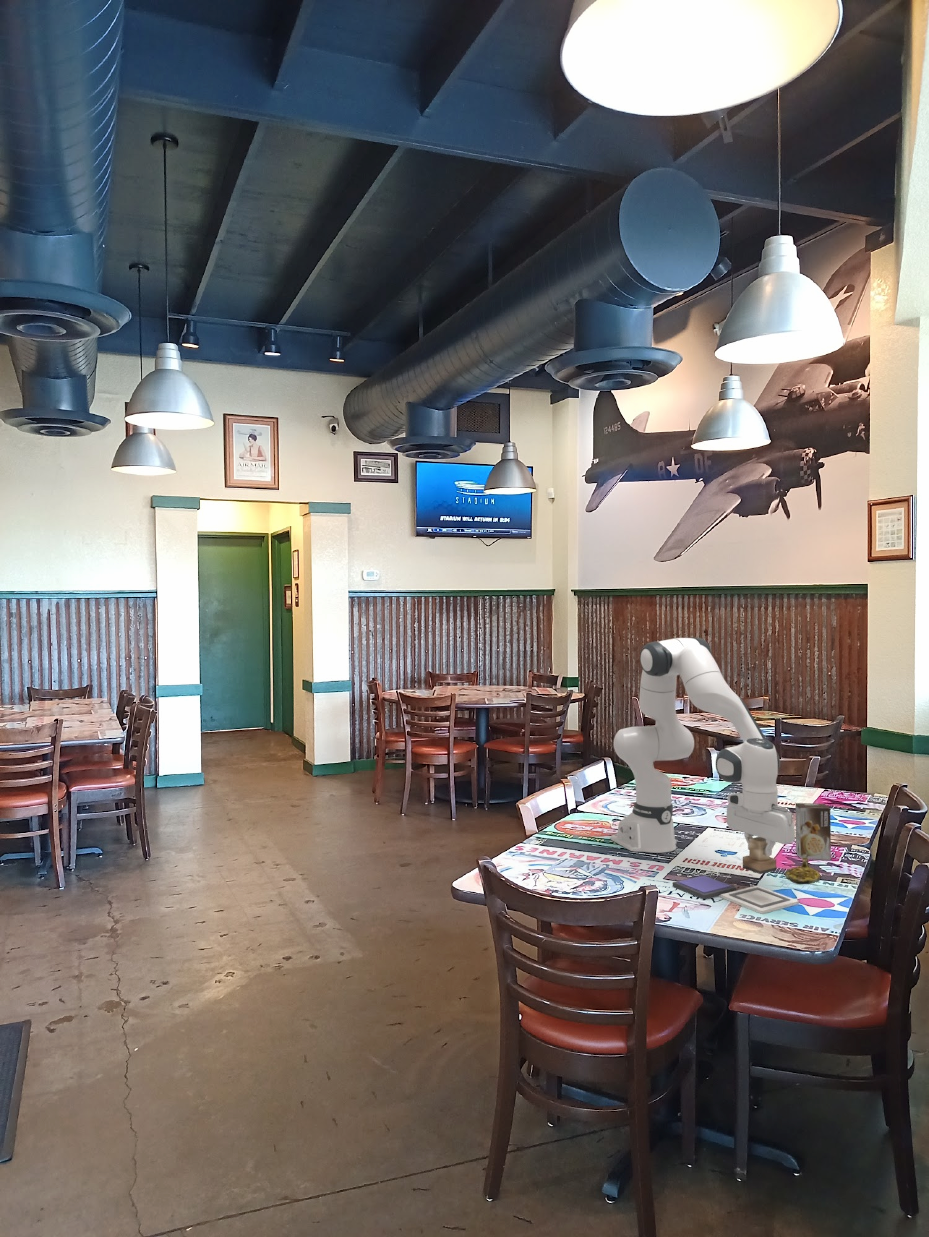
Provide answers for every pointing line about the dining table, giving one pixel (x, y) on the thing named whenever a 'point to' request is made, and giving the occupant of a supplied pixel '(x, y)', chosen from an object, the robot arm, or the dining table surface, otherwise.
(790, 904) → the board
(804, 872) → the seal
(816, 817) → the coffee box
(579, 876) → the dining table surface
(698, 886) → the ink pad
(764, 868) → the stamp
